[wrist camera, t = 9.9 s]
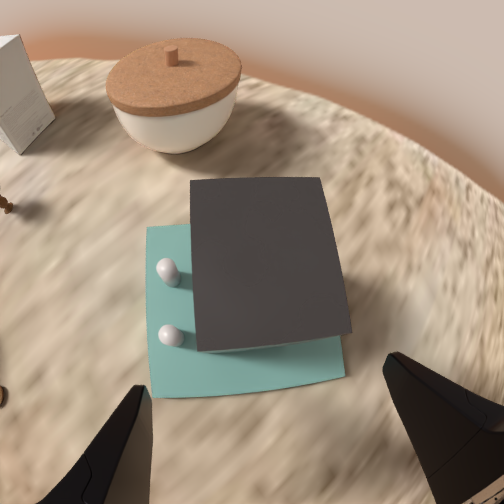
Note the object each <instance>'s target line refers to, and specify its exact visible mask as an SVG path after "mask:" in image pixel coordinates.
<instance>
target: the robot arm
mask: <svg viewBox="0 0 504 504" xmlns="http://www.w3.org/2000/svg"><path fill="white" fill-rule="evenodd" d="M383 375H384V378H385V380H386V383H387V386H388V389H389V392H390V395H391V398H392V400H393V403H394V405H395V407H396V410H397V412H398V414H399V416H400V418H401V420H402V423H403V425H404V427H405V429H406V431H407V434H408V436H409V438H410V440H411V443H412V445H413V447H414V449H415V452H416V454H417V456H418V459H419V461H420V464H421V466H422V468H423V471H424V473H425V476H426V478H427V481H428V483H429V486H430V489H431V491H432V494H433V496H434V499H435V502H436V504H462V503H463V502H465V501H467V500H468V499H470V498H471V500H472V502H471V503H470V504H504V406H502V405H499V404H497V403H495V402H492V401H490V400H487V399H485V398H483V397H481V396H479V395H477V394H475V393H473V392H471V391H469V390H467V389H464V388H463V387H462V386H460V385H458V384H456V383H454V382H452V381H451V380H449V379H447V378H445V377H443V376H442V375H440V374H438V373H436V372H434V371H433V370H431V369H429V368H427V367H425V366H423V365H422V364H420V363H418V362H416V361H415V360H413V359H411V358H409V357H407V356H406V355H404V354H402V353H400V352H393V353H389V354H388V356H387V358H386V361H385V363H384V366H383ZM152 447H153V428H152V400H151V397H150V395H149V392H148V390H147V388H146V386H145V385H134V386H133V387H132V388H131V389H130V391H129V392H128V393H127V395H126V396H125V397H124V399H123V400H122V401H121V403H120V404H119V405H118V407H117V408H116V409H115V411H114V412H113V413H112V415H111V416H110V417H109V419H108V420H107V421H106V423H105V424H104V426H103V427H102V428H101V430H100V431H99V432H98V434H97V435H96V436H95V438H94V439H93V440H92V442H91V443H90V445H89V446H88V447H87V449H86V450H85V451H84V454H82V455H81V457H80V458H79V460H78V461H77V462H76V463H75V465H74V466H73V467H72V469H71V470H70V471H69V472H68V473H67V474H66V475H65V477H64V478H63V479H62V480H61V481H60V482H59V483H58V484H57V485H56V486H55V487H54V488H53V489H52V490H51V491H50V492H49V493H48V494H47V495H46V496H45V497H44V498H43V499H42V500H41V501H39V502H38V503H36V504H149V494H150V475H151V460H152Z"/></svg>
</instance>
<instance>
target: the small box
mask: <svg viewBox="0 0 504 504" xmlns="http://www.w3.org/2000/svg"><path fill="white" fill-rule="evenodd" d="M54 119H55V115H54V113H53V111H52V109H51V107H50V105H49V103H48V101H47V99H46V97H45V95H44V93H43V90H42V88H41V86H40V84H39V81H38V79H37V77H36V74H35V72H34V70H33V68H32V65H31V63H30V60H29V58H28V56H27V53H26V50H25V48H24V45H23V42H22V39H21V37H20V34H18V35H8V36H0V139H1V140H2V141H3V142H4V143H5V144H6V145H8V146H9V147H10V148H11V149H12V150H14V151H15V152H16V153H17V154H19V155H21V154H22V152H23V151H24V150H25V149H26V148H27V147H28V146H29V145H30V144H31V143H32V142H33V141H34V139H35V138H36V137H37V136H38V135H39V134H40V133H41V132H42V131H43V130H44V129H45V128H46V127H47V126H48V125H49V124H50V123H51V122H52V121H53V120H54Z"/></svg>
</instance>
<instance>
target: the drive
mask: <svg viewBox="0 0 504 504" xmlns="http://www.w3.org/2000/svg"><path fill="white" fill-rule="evenodd" d="M190 230H191V263H192V285H193V302H194V318H195V331H196V343H197V352H203V353H209V354H211V353H225V352H237V351H247V350H257V349H266V348H274V347H282V346H289V345H295V344H300V343H306V342H311V341H316V340H321V339H326V338H331V337H335V336H340V335H345V334H349V333H352V329H351V322H350V316H349V310H348V304H347V298H346V292H345V287H344V281H343V276H342V271H341V266H340V261H339V256H338V251H337V246H336V242H335V237H334V233H333V228H332V224H331V220H330V216H329V212H328V207H327V203H326V199H325V196H324V192H323V188H322V184H321V180H320V178H319V177H254V178H223V179H203V180H190Z"/></svg>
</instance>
